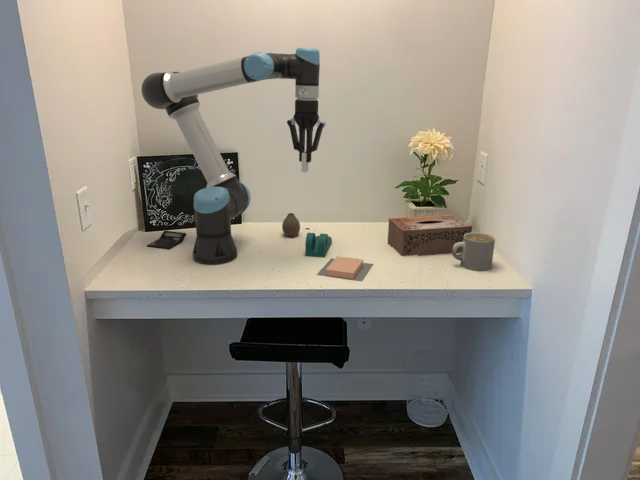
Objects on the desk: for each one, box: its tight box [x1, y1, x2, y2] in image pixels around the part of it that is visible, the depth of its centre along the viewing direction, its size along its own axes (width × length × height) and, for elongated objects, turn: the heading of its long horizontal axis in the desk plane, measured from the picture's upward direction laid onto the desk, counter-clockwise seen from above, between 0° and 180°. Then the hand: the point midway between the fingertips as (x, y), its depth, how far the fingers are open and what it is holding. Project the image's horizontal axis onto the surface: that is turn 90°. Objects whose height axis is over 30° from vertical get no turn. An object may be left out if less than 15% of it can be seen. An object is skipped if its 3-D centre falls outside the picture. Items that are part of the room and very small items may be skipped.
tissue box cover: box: [387, 214, 473, 257], centre depth 183 cm, size 26×14×10 cm, turn 102°
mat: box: [316, 257, 375, 282], centre depth 164 cm, size 15×15×1 cm
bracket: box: [305, 232, 333, 258], centre depth 182 cm, size 18×7×8 cm, turn 169°
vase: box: [281, 212, 301, 238], centre depth 195 cm, size 7×7×9 cm
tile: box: [326, 256, 364, 280], centre depth 163 cm, size 9×2×12 cm
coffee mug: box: [451, 231, 496, 272], centre depth 167 cm, size 13×10×10 cm
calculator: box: [146, 230, 187, 251], centre depth 187 cm, size 9×12×3 cm
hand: (304, 171), depth 170 cm, fingers closed
